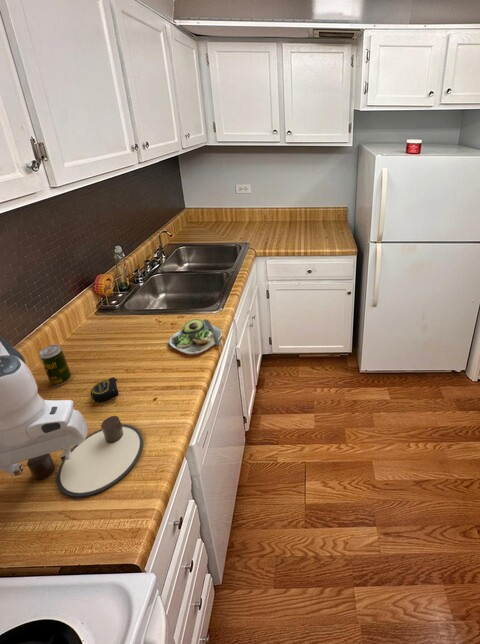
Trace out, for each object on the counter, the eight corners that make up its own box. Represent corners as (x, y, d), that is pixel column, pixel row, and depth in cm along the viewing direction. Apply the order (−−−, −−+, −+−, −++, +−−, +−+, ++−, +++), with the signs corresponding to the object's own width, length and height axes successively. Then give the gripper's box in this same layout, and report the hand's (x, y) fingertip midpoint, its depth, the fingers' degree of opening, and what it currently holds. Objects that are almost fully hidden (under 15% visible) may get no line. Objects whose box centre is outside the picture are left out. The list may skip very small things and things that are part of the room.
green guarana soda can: (56, 375, 107) (45, 345, 102) (75, 373, 108) (64, 343, 103) (47, 388, 102) (34, 356, 97) (66, 385, 103) (54, 354, 98)
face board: (45, 511, 70) (44, 509, 70) (69, 439, 86) (68, 437, 86) (139, 479, 76) (139, 477, 76) (145, 417, 92) (145, 415, 92)
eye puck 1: (31, 484, 76) (23, 469, 74) (37, 467, 79) (30, 453, 77) (52, 477, 77) (45, 462, 75) (57, 461, 80) (51, 447, 78)
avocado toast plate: (236, 336, 125) (235, 326, 123) (199, 364, 111) (197, 353, 109) (201, 320, 135) (200, 311, 133) (162, 345, 120) (160, 334, 119)
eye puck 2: (104, 445, 84) (99, 431, 82) (107, 432, 87) (102, 418, 85) (122, 440, 85) (117, 426, 83) (124, 427, 88) (120, 413, 86)
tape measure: (120, 398, 98) (117, 389, 97) (93, 409, 94) (89, 399, 93) (118, 384, 103) (115, 374, 102) (92, 393, 100) (89, 384, 98)
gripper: (-48, 452, 66) (-21, 496, 71) (73, 419, 73) (90, 461, 78) (-31, 426, 71) (-7, 469, 76) (80, 397, 78) (95, 439, 83)
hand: (43, 465), depth 77 cm, fingers open, 8 cm apart
